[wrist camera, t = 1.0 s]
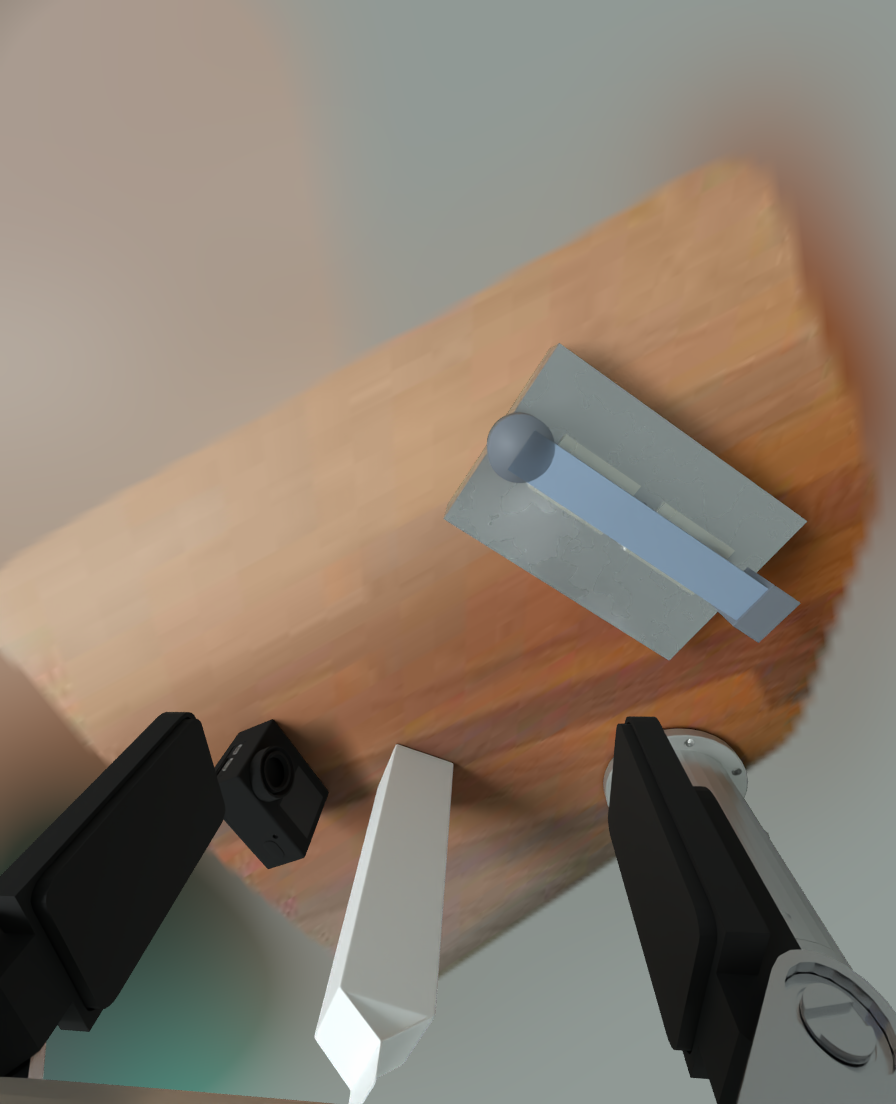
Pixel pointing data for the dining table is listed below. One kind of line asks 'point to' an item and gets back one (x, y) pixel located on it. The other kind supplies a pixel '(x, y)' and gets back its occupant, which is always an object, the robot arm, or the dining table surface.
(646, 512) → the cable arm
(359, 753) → the dining table surface
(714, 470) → the plate
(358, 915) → the milk
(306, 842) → the digital camera
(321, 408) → the dining table surface
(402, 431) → the dining table surface
